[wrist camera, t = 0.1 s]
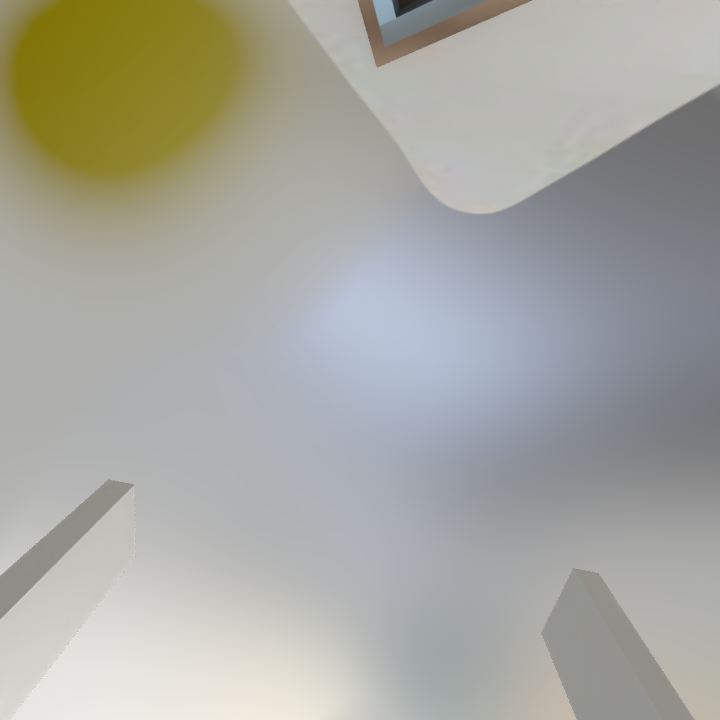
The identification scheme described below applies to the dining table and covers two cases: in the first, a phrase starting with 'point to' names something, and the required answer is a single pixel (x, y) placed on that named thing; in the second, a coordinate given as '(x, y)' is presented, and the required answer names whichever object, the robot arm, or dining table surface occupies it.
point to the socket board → (422, 22)
